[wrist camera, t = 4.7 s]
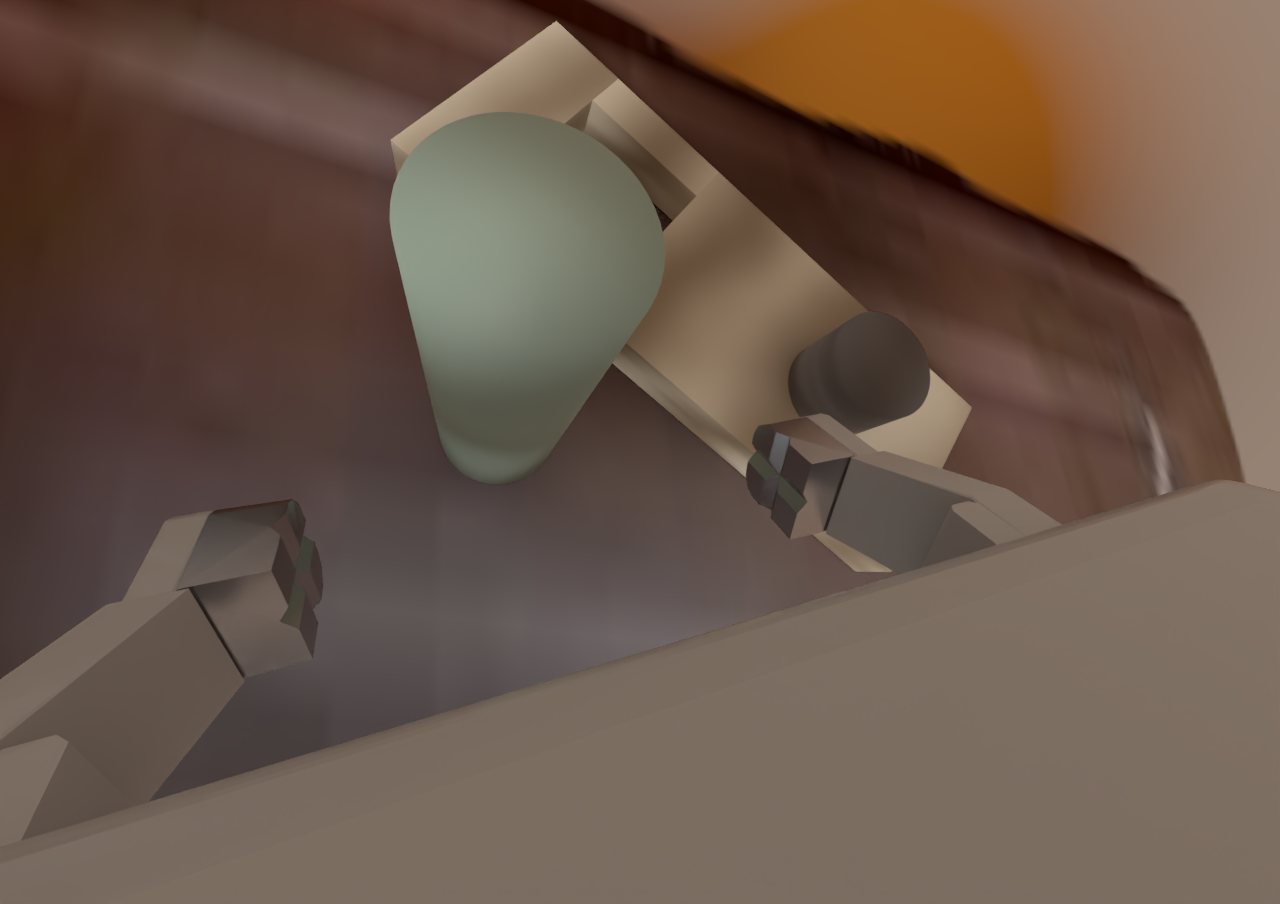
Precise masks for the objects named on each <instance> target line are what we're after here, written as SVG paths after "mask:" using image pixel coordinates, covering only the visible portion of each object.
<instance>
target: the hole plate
mask: <svg viewBox="0 0 1280 904" xmlns="http://www.w3.org/2000/svg"><path fill="white" fill-rule="evenodd" d="M491 112H515V113H526V114H532V115H537V116H542V117H546V118H549V119H552V120H556V121H559V122H561V123H564V124H566V125H569V126H571V127H573V128H576V129H578V130H579V131H581V132H583V133H585V134H587V135H589V136H591V137H592V138H594V139H595V140H597V141H598V142H600V143H601V144H603V145H604V146H605V147H607V148H608V149H609V150H610V151H611V152H613V153H614V154H615V155H616V156H617V157H619V158H620V159H621V161H622V162H623V163H624V164H625V165H626V166H627V167H628V168H629V169H630V170H631V171H632V172H633V174H634V175H635V176H636V177H637V179H638V180H639V181H640V182H641V184H642V186H643V187H644V189H645V190H646V192H647V193H648V195H649V197H650V199H651V201H652V202H653V203H654V204H655V205H656V206H657V207H658V208H659V209H660V210H661V211H663V212H664V213H665V214H666V215H667V216H668V217H669V218H670V219H671V220H672V222H671V224H670V225H669V226H668V227H667V228H666V229H665V230H664V231H663V237H664V245H665V267H664V272H663V278H662V282H661V285H660V288H659V291H658V294H657V296H656V298H655V300H654V302H653V304H652V305H651V307H650V309H649V310H648V312H647V313H646V315H645V316H644V318H643V319H642V321H641V322H640V323H639V325H638V326H637V328H636V329H635V331H634V332H633V334H632V335H631V337H630V338H629V339H628V341H627V342H626V344H625V345H624V347H623V348H622V350H621V351H620V352H619V354H618V355H617V357H616V358H615V360H614V361H613V363H612V364H614V365H615V366H616V367H617V368H618V369H619V370H621V371H622V372H623V373H624V374H625V375H626V376H628V377H629V378H630V379H631V380H632V381H633V382H635V383H636V384H637V385H638V386H639V387H640V388H642V389H643V390H644V391H645V392H646V393H648V394H649V395H650V396H651V397H652V398H653V399H655V400H656V401H657V402H658V403H659V404H660V405H662V406H663V407H664V408H665V409H666V410H667V411H669V412H670V413H671V414H672V415H673V416H674V417H676V418H677V419H678V420H679V421H680V422H681V423H683V424H684V425H685V426H686V427H687V428H688V429H690V430H691V431H692V432H693V433H694V434H695V435H697V436H698V437H699V438H700V439H701V440H702V441H704V442H705V443H706V444H707V445H708V446H709V447H711V448H712V449H713V450H714V451H715V452H716V453H718V454H719V455H720V456H721V457H722V458H724V459H725V460H726V461H727V462H728V463H729V464H731V465H732V466H733V467H734V468H735V469H736V470H738V471H739V472H740V473H741V474H742V475H743V476H745V477H746V470H747V464H748V461H749V459H750V458H751V457H752V456H753V454H754V453H755V452H756V450H755V448H754V446H753V444H752V440H753V435H754V432H755V430H756V429H757V427H758V426H759V425H763V424H769V423H775V422H780V421H786V420H792V419H798V418H801V417H805V416H810V415H815V414H820V413H822V414H826V415H829V416H831V417H832V418H833V419H835V420H836V421H837V422H839V423H840V424H841V425H843V426H844V427H845V428H847V429H848V430H850V431H851V432H852V433H854V434H855V435H856V436H858V437H859V438H860V439H862V440H863V441H864V442H866V443H867V444H868V445H870V446H871V447H872V448H874V449H875V450H876V451H878V452H880V451H886V452H890V453H893V454H896V455H899V456H902V457H906V458H909V459H912V460H915V461H918V462H922V463H925V464H928V465H931V466H934V467H938V468H941V469H942V467H943V465H944V463H945V461H946V459H947V457H948V455H949V453H950V451H951V449H952V447H953V445H954V443H955V441H956V439H957V437H958V435H959V433H960V431H961V429H962V427H963V425H964V423H965V421H966V419H967V417H968V415H969V413H970V411H971V408H972V407H971V406H970V405H968V404H967V403H966V402H965V401H964V400H963V399H962V398H961V397H960V396H959V395H958V394H957V393H956V392H955V391H953V390H952V389H951V388H950V387H949V386H948V385H947V384H946V383H945V382H944V381H943V380H942V379H941V378H939V377H938V376H937V375H936V374H935V373H934V372H933V371H932V370H931V369H930V368H929V363H928V360H927V356H926V354H925V351H924V349H923V347H922V345H921V343H920V342H919V340H918V339H917V337H916V336H915V335H914V333H913V332H912V331H911V330H910V329H909V328H908V327H907V326H906V325H905V324H903V323H902V322H901V321H899V320H898V319H896V318H894V317H892V316H890V315H888V314H885V313H881V312H874V311H873V312H869V311H867V310H866V309H865V308H864V307H863V306H862V305H861V304H860V303H859V302H858V301H857V300H856V299H855V298H854V297H852V296H851V295H850V294H849V293H848V292H847V291H846V290H845V289H844V288H843V287H842V286H841V285H840V284H838V283H837V282H836V281H835V280H834V279H833V278H832V277H831V276H830V275H829V274H828V273H827V272H826V271H825V270H823V269H822V268H821V267H820V266H819V265H818V264H817V263H816V262H815V261H814V260H813V259H812V258H811V257H809V256H808V255H807V254H806V253H805V252H804V251H803V250H802V249H801V248H800V247H799V246H798V245H797V244H795V243H794V242H793V241H792V240H791V239H790V238H789V237H788V236H787V235H786V234H785V233H784V232H783V231H782V230H780V229H779V228H778V227H777V226H776V225H775V224H774V223H773V222H772V221H771V220H770V219H769V218H768V217H766V216H765V215H764V214H763V213H762V212H761V211H760V210H759V209H758V208H757V207H756V206H755V205H754V204H753V203H751V202H750V201H749V200H748V199H747V198H746V197H745V196H744V195H743V194H742V193H741V192H740V191H739V190H737V189H736V188H735V187H734V186H733V185H732V184H731V183H730V182H729V181H728V180H727V179H726V178H725V177H723V176H722V175H721V174H720V173H719V172H718V171H717V170H716V169H715V168H714V167H713V166H712V165H711V164H710V163H708V162H707V161H706V160H705V159H704V158H703V157H702V156H701V155H700V154H699V153H698V152H697V151H696V150H694V149H693V148H692V147H691V146H690V145H689V144H688V143H687V142H686V141H685V140H684V139H683V138H682V137H681V136H679V135H678V134H677V133H676V132H675V131H674V130H673V129H672V128H671V127H670V126H669V125H668V124H667V123H665V122H664V121H663V120H662V119H661V118H660V117H659V116H658V115H657V114H656V113H655V112H654V111H653V110H652V109H650V108H649V107H648V106H647V105H646V104H645V103H644V102H643V101H642V100H641V99H640V98H639V97H638V96H636V95H635V94H634V93H633V92H632V91H631V90H630V89H629V88H628V87H627V86H626V85H625V84H624V83H622V82H621V81H620V80H619V79H618V78H617V77H616V76H615V75H614V74H613V73H612V72H611V71H610V70H609V69H607V68H606V67H605V66H604V65H603V64H602V63H601V62H600V61H599V60H598V59H597V58H596V57H595V56H593V55H592V54H591V53H590V52H589V51H588V50H587V49H586V48H585V47H584V46H583V45H582V44H581V43H580V42H578V41H577V40H576V39H575V38H574V37H573V36H572V35H571V34H570V33H569V32H568V31H567V30H566V29H564V28H563V27H562V26H561V25H560V24H559V23H558V22H557V21H556V22H554V23H553V24H552V25H550V26H549V27H547V28H546V29H545V30H543V31H542V32H540V33H539V34H538V35H536V36H535V37H533V38H532V39H531V40H529V41H528V42H526V43H525V44H524V45H522V46H521V47H519V48H518V49H517V50H515V51H514V52H513V53H511V54H510V55H508V56H507V57H506V58H504V59H503V60H501V61H500V62H499V63H497V64H496V65H494V66H493V67H492V68H490V69H489V70H487V71H486V72H485V73H483V74H482V75H480V76H479V77H478V78H476V79H475V80H473V81H472V82H471V83H469V84H468V85H466V86H465V87H464V88H462V89H461V90H459V91H458V92H457V93H455V94H454V95H452V96H451V97H450V98H448V99H447V100H445V101H444V102H443V103H441V104H440V105H438V106H437V107H436V108H434V109H433V110H432V111H430V112H429V113H427V114H426V115H425V116H423V117H422V118H420V119H419V120H418V121H416V122H415V123H413V124H412V125H411V126H409V127H408V128H406V129H405V130H404V131H402V132H401V133H399V134H398V135H397V136H395V137H394V138H392V139H391V144H392V150H393V155H394V160H395V166H396V171H397V175H398V173H399V171H400V169H401V167H402V166H403V164H404V162H405V160H406V159H407V157H408V156H409V155H410V154H411V152H412V151H413V150H414V149H415V148H416V146H417V145H418V144H420V143H421V142H422V141H423V140H424V139H425V138H426V137H428V136H429V135H430V134H432V133H433V132H435V131H437V130H438V129H440V128H441V127H443V126H445V125H447V124H450V123H452V122H454V121H456V120H459V119H462V118H466V117H469V116H473V115H478V114H484V113H491ZM825 533H826V531H825V532H821V533H816V534H812V535H814V536H815V537H816V538H817V539H818V540H819V541H821V542H822V543H823V544H824V545H825V546H826V547H828V548H829V549H830V550H831V551H832V552H833V553H835V554H836V555H837V556H838V557H839V558H840V559H842V560H843V561H844V562H845V563H846V564H847V565H849V566H850V567H851V568H852V569H853V570H854V571H856V572H891V571H892V570H891V569H889V568H887V567H885V566H884V565H882V564H880V563H878V562H876V561H874V560H873V559H871V558H869V557H867V556H865V555H864V554H862V553H860V552H858V551H856V550H854V549H853V548H851V547H849V546H847V545H845V544H844V543H842V542H840V541H838V540H836V539H835V538H833V537H831V536H829V535H827V534H825Z"/></svg>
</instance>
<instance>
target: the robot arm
mask: <svg viewBox="0 0 1280 904" xmlns="http://www.w3.org/2000/svg"><path fill="white" fill-rule="evenodd" d="M752 444H753V446H754V448H755V450H756V452H755V453H754V454H753V456H752V457H751V458H750V459H749V461H748V464H747V470H746V480H747V486H748V489H749V491H750V493H751V495H752V497H753V498H754V499H755V500H756V501H757V503H758V504H760V505H762V506H764V507H766V508H769V509H771V519H772V520H773V521H774V522H775V523H776V524H777V525H778V527H779V528H780V529H781V530H782V531H783V532H784V533H785V534H786V536H787V537H788V538H789V539H793V538H798V537H803V536H807V535H812V534H816V533H821V532H825V531H826V533H825V534H827V535H829V536H831V537H833V538H835V539H836V540H838V541H840V542H842V543H844V544H845V545H847V546H849V547H851V548H853V549H854V550H856V551H858V552H860V553H862V554H864V555H865V556H867V557H869V558H871V559H873V560H874V561H876V562H878V563H880V564H882V565H884V566H885V567H887V568H889V569H891V570H893V571H894V572H896V573H898V574H899V575H896V576H892V577H889V578H886V579H883V580H879V581H876V582H873V583H869V584H866V585H863V586H859V587H856V588H853V589H850V590H846V591H843V592H840V593H836V594H833V595H830V596H826V597H823V598H820V599H816V600H813V601H810V602H807V603H803V604H800V605H797V606H793V607H790V608H787V609H783V610H780V611H777V612H773V613H770V614H767V615H764V616H760V617H757V618H754V619H750V620H747V621H744V622H740V623H737V624H734V625H731V626H727V627H724V628H721V629H717V630H714V631H711V632H707V633H704V634H701V635H698V636H694V637H691V638H688V639H684V640H681V641H678V642H674V643H671V644H668V645H665V646H661V647H658V648H655V649H651V650H648V651H645V652H642V653H638V654H635V655H632V656H628V657H625V658H622V659H618V660H615V661H612V662H609V663H605V664H602V665H599V666H595V667H592V668H589V669H585V670H582V671H579V672H576V673H572V674H569V675H566V676H562V677H559V678H556V679H552V680H549V681H546V682H543V683H539V684H536V685H533V686H529V687H526V688H523V689H519V690H516V691H513V692H510V693H506V694H503V695H500V696H496V697H493V698H490V699H487V700H483V701H480V702H477V703H473V704H470V705H467V706H463V707H460V708H457V709H454V710H450V711H447V712H444V713H440V714H437V715H434V716H430V717H427V718H424V719H421V720H417V721H414V722H411V723H407V724H404V725H401V726H397V727H394V728H391V729H388V730H384V731H381V732H378V733H374V734H371V735H368V736H364V737H361V738H358V739H355V740H351V741H348V742H345V743H341V744H338V745H335V746H332V747H328V748H325V749H322V750H318V751H315V752H312V753H308V754H305V755H302V756H299V757H295V758H292V759H289V760H285V761H282V762H279V763H275V764H272V765H269V766H266V767H262V768H259V769H256V770H252V771H249V772H246V773H242V774H239V775H236V776H233V777H229V778H226V779H223V780H219V781H216V782H213V783H209V784H206V785H203V786H200V787H196V788H193V789H190V790H186V791H183V792H180V793H177V794H173V795H170V796H167V797H163V798H160V799H157V800H153V801H150V802H148V801H149V800H150V799H151V798H152V796H153V795H154V794H155V793H156V791H157V790H158V789H159V788H160V786H161V785H162V784H163V783H164V781H165V780H166V779H167V778H168V776H169V775H170V774H171V773H172V771H173V770H174V769H175V768H176V766H177V765H178V764H179V763H180V761H181V760H182V759H183V758H184V756H185V755H186V754H187V753H188V751H189V750H190V749H191V748H192V746H193V745H194V744H195V743H196V741H197V740H198V739H199V738H200V736H201V735H202V734H203V733H204V731H205V730H206V729H207V728H208V726H209V725H210V724H211V723H212V721H213V720H214V719H215V718H216V716H217V715H218V714H219V713H220V711H221V710H222V709H223V708H224V706H225V705H226V704H227V703H228V701H229V700H230V699H231V698H232V696H233V695H234V694H235V693H236V691H237V690H238V689H239V688H240V686H241V685H242V684H243V683H244V679H243V678H246V677H249V676H253V675H257V674H260V673H264V672H267V671H271V670H275V669H278V668H282V667H286V666H289V665H293V664H297V663H300V662H304V661H307V660H311V659H313V654H314V647H315V640H316V634H317V627H318V621H317V619H316V617H315V614H314V612H313V608H314V607H315V606H316V605H317V604H318V603H319V602H320V601H321V598H322V590H323V577H322V566H321V562H320V557H319V553H318V550H317V548H316V545H315V542H314V541H312V540H310V539H308V538H307V537H305V536H303V533H304V528H305V522H306V519H305V517H304V515H303V512H302V510H301V508H300V505H299V503H297V502H296V501H295V500H294V499H290V500H283V501H276V502H269V503H262V504H255V505H248V506H241V507H234V508H227V509H220V510H215V511H206V512H200V513H194V514H187V515H181V516H175V517H172V518H170V519H168V520H166V521H165V522H164V523H163V525H162V527H161V529H160V530H159V532H158V534H157V536H156V538H155V540H154V542H153V544H152V545H151V547H150V549H149V551H148V553H147V555H146V557H145V558H144V560H143V562H142V564H141V566H140V568H139V570H138V572H137V573H136V575H135V577H134V579H133V581H132V583H131V585H130V586H129V588H128V590H127V592H126V594H125V596H124V598H123V600H122V601H121V602H117V603H112V604H107V605H105V606H104V607H103V608H101V609H100V610H98V611H97V612H95V613H94V614H93V615H91V616H90V617H88V618H87V619H86V620H84V621H83V622H81V623H80V624H78V625H77V626H76V627H74V628H73V629H71V630H70V631H68V632H67V633H66V634H64V635H63V636H61V637H60V638H59V639H57V640H56V641H54V642H53V643H51V644H50V645H49V646H47V647H46V648H44V649H43V650H41V651H40V652H39V653H37V654H36V655H34V656H33V657H32V658H30V659H29V660H27V661H26V662H24V663H23V664H22V665H20V666H19V667H17V668H16V669H15V670H13V671H12V672H10V673H9V674H7V675H6V676H5V677H3V678H2V679H0V904H1280V492H1278V491H1274V490H1270V489H1266V488H1261V487H1257V486H1254V485H1250V484H1246V483H1240V482H1235V481H1229V480H1213V481H1207V482H1203V483H1198V484H1195V485H1191V486H1188V487H1185V488H1182V489H1179V490H1176V491H1173V492H1169V493H1166V494H1163V495H1160V496H1156V497H1153V498H1150V499H1146V500H1143V501H1140V502H1136V503H1133V504H1130V505H1127V506H1123V507H1120V508H1117V509H1113V510H1110V511H1107V512H1103V513H1100V514H1097V515H1094V516H1090V517H1087V518H1084V519H1080V520H1077V521H1074V522H1071V523H1067V524H1064V525H1061V524H1060V523H1058V522H1057V521H1055V520H1054V519H1052V518H1051V517H1049V516H1048V515H1046V514H1045V513H1043V512H1042V511H1040V510H1038V509H1037V508H1035V507H1034V506H1032V505H1031V504H1029V503H1028V502H1026V501H1025V500H1023V499H1022V498H1020V497H1019V496H1017V495H1016V494H1014V493H1013V492H1011V491H1009V490H1008V489H1005V488H1002V487H998V486H995V485H992V484H989V483H986V482H982V481H979V480H976V479H973V478H970V477H966V476H963V475H960V474H957V473H954V472H950V471H947V470H944V469H941V468H938V467H934V466H931V465H928V464H925V463H922V462H918V461H915V460H912V459H909V458H906V457H902V456H899V455H896V454H893V453H890V452H886V451H880V452H878V451H876V450H875V449H874V448H872V447H871V446H870V445H868V444H867V443H866V442H864V441H863V440H862V439H860V438H859V437H858V436H856V435H855V434H854V433H852V432H851V431H850V430H848V429H847V428H845V427H844V426H843V425H841V424H840V423H839V422H837V421H836V420H835V419H833V418H832V417H831V416H829V415H826V414H822V413H820V414H815V415H810V416H805V417H801V418H798V419H792V420H786V421H780V422H775V423H769V424H763V425H759V426H758V427H757V429H756V430H755V432H754V435H753V440H752Z"/></svg>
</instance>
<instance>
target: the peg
mask: <svg viewBox="0 0 1280 904" xmlns="http://www.w3.org/2000/svg"><path fill="white" fill-rule="evenodd" d="M390 226H391V234H392V240H393V244H394V248H395V252H396V257H397V261H398V265H399V269H400V273H401V278H402V282H403V286H404V290H405V294H406V299H407V303H408V307H409V311H410V316H411V320H412V324H413V328H414V332H415V337H416V341H417V345H418V349H419V353H420V358H421V362H422V366H423V370H424V375H425V379H426V383H427V387H428V391H429V396H430V400H431V404H432V408H433V412H434V417H435V421H436V425H437V429H438V434H439V438H440V442H441V445H442V448H443V450H444V453H445V455H446V456H447V458H448V460H449V461H450V462H451V463H452V465H453V466H454V467H455V468H456V469H457V470H458V471H460V472H461V473H462V474H464V475H465V476H467V477H469V478H471V479H473V480H475V481H478V482H481V483H485V484H492V485H504V484H510V483H514V482H517V481H520V480H522V479H525V478H526V477H528V476H530V475H531V474H532V473H534V472H535V471H536V470H537V469H538V468H539V467H540V466H541V465H542V464H543V462H544V461H545V460H546V458H547V457H548V455H549V454H550V453H551V451H552V450H553V448H554V447H555V445H556V444H557V442H558V441H559V439H560V438H561V437H562V435H563V434H564V432H565V431H566V429H567V428H568V426H569V425H570V424H571V422H572V421H573V419H574V418H575V416H576V415H577V413H578V412H579V410H580V409H581V408H582V406H583V405H584V403H585V402H586V400H587V399H588V397H589V396H590V395H591V393H592V392H593V390H594V389H595V387H596V386H597V384H598V383H599V381H600V380H601V379H602V377H603V376H604V374H605V373H606V371H607V370H608V368H609V367H610V366H611V364H612V363H613V361H614V360H615V358H616V357H617V355H618V354H619V352H620V351H621V350H622V348H623V347H624V345H625V344H626V342H627V341H628V339H629V338H630V337H631V335H632V334H633V332H634V331H635V329H636V328H637V326H638V325H639V323H640V322H641V321H642V319H643V318H644V316H645V315H646V313H647V312H648V310H649V309H650V307H651V305H652V304H653V302H654V300H655V298H656V296H657V294H658V291H659V288H660V285H661V282H662V278H663V272H664V267H665V245H664V237H663V232H662V228H661V223H660V220H659V218H658V215H657V212H656V209H655V207H654V205H653V203H652V201H651V199H650V197H649V195H648V193H647V192H646V190H645V189H644V187H643V186H642V184H641V182H640V181H639V180H638V179H637V177H636V176H635V175H634V174H633V172H632V171H631V170H630V169H629V168H628V167H627V166H626V165H625V164H624V163H623V162H622V161H621V159H620V158H619V157H617V156H616V155H615V154H614V153H613V152H611V151H610V150H609V149H608V148H607V147H605V146H604V145H603V144H601V143H600V142H598V141H597V140H595V139H594V138H592V137H591V136H589V135H587V134H585V133H583V132H581V131H579V130H578V129H576V128H573V127H571V126H569V125H566V124H564V123H561V122H559V121H556V120H552V119H549V118H546V117H542V116H537V115H532V114H526V113H515V112H491V113H484V114H478V115H473V116H469V117H466V118H462V119H459V120H456V121H454V122H452V123H450V124H447V125H445V126H443V127H441V128H440V129H438V130H437V131H435V132H433V133H432V134H430V135H429V136H428V137H426V138H425V139H424V140H423V141H422V142H421V143H420V144H418V145H417V146H416V148H415V149H414V150H413V151H412V152H411V154H410V155H409V156H408V157H407V159H406V160H405V162H404V164H403V166H402V167H401V169H400V171H399V173H398V175H397V178H396V181H395V183H394V186H393V191H392V196H391V201H390Z"/></svg>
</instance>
